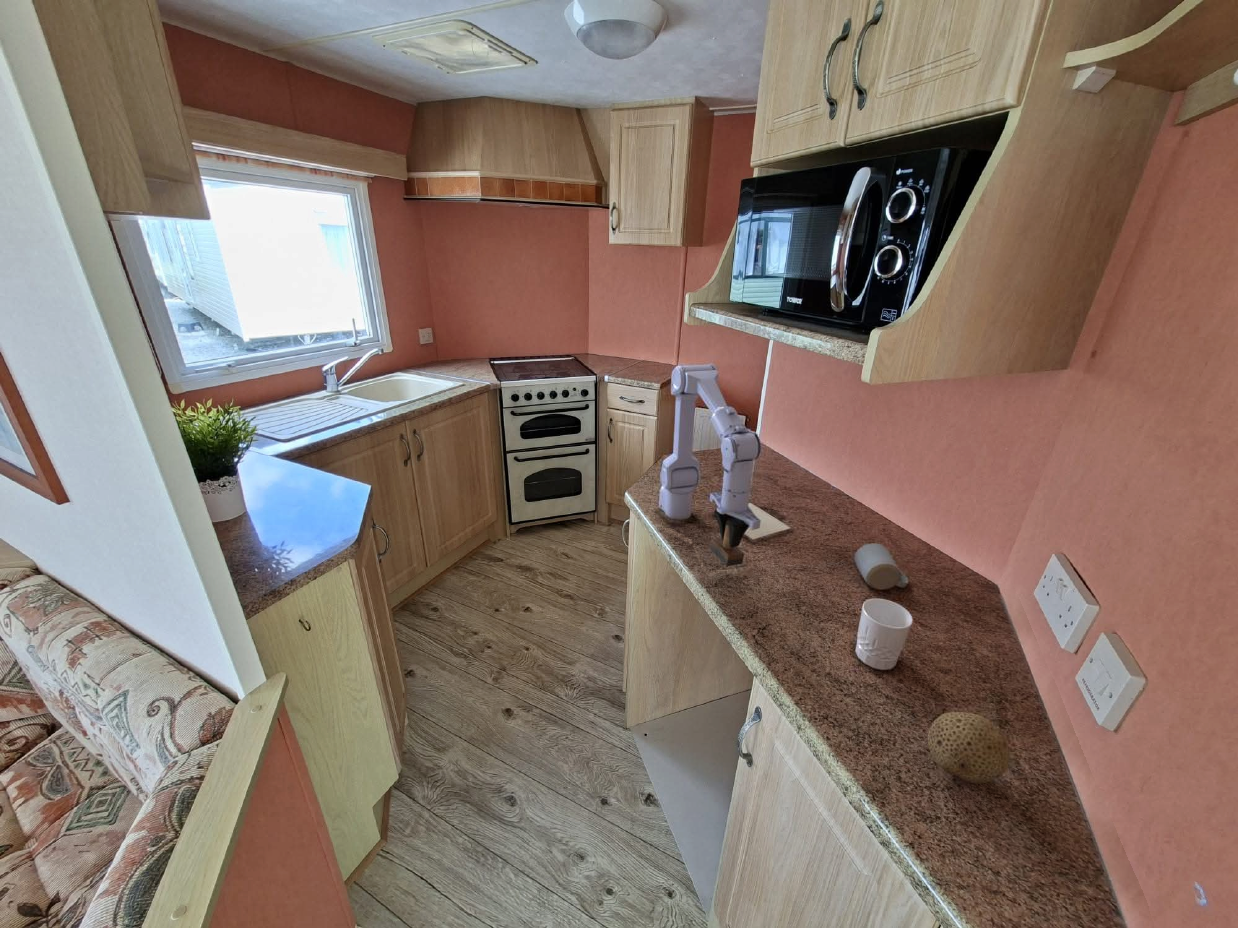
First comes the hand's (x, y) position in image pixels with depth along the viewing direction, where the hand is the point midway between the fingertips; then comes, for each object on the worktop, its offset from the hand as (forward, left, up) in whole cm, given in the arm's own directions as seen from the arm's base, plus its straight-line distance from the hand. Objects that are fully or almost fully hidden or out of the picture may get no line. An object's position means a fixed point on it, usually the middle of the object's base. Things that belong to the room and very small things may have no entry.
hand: (730, 542), depth 109 cm
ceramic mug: (+17, +30, -9) cm, 36 cm away
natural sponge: (+52, 0, -9) cm, 53 cm away
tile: (-16, +21, -9) cm, 28 cm away
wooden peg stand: (0, -1, -3) cm, 4 cm away
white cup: (+32, +9, -9) cm, 34 cm away
